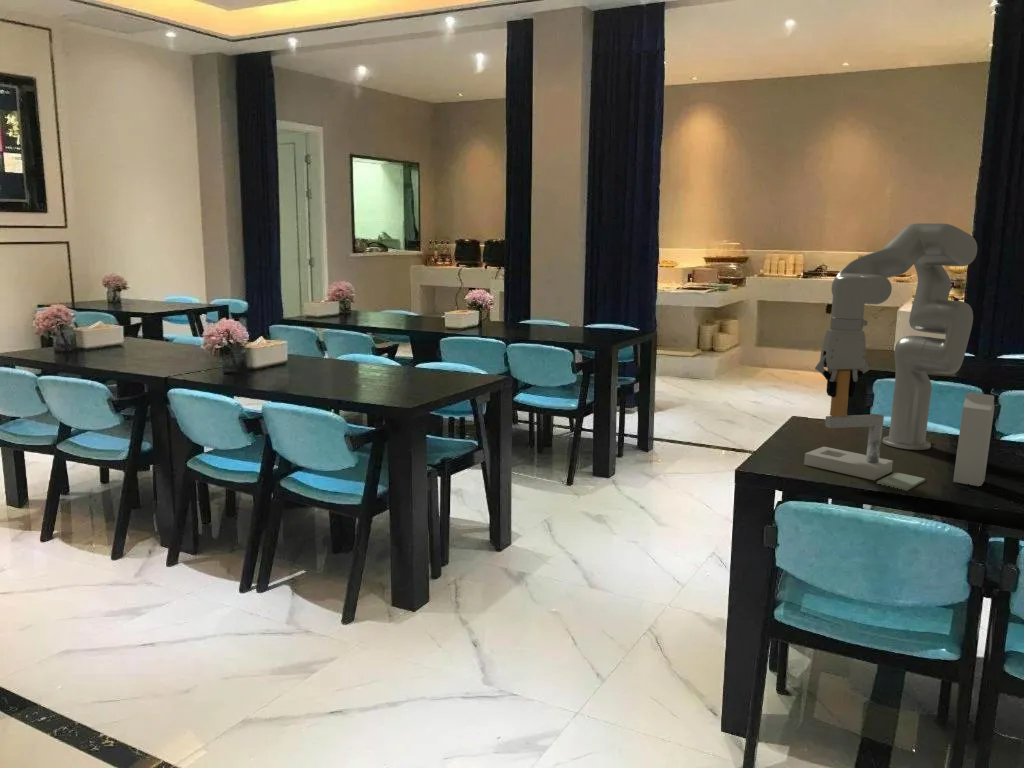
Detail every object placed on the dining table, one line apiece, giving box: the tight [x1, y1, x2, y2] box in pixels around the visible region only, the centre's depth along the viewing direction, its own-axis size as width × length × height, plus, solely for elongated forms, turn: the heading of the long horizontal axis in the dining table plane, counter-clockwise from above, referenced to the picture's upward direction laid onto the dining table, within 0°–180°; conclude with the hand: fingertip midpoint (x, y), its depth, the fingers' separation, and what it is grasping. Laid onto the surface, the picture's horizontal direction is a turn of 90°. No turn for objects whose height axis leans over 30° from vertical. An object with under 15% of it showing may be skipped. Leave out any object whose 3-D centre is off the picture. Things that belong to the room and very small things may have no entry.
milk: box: [952, 392, 995, 487], centre depth 196 cm, size 6×6×22 cm
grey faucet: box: [824, 413, 885, 462], centre depth 200 cm, size 3×16×12 cm, turn 105°
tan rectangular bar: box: [829, 370, 851, 416], centre depth 207 cm, size 4×4×12 cm
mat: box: [876, 471, 926, 492], centre depth 196 cm, size 12×7×1 cm, turn 135°
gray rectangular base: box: [803, 446, 894, 481], centre depth 207 cm, size 11×18×3 cm, turn 45°
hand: (840, 395), depth 207 cm, fingers closed on tan rectangular bar, 4 cm apart
